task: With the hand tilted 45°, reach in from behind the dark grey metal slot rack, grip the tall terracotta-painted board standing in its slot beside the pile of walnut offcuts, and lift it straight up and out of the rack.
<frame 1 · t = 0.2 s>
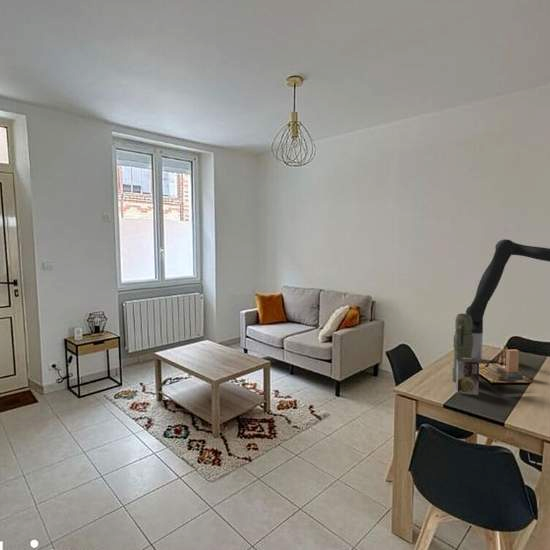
board: (511, 376, 190), point 1 cm above the table, touching rack
thermos: (462, 381, 188), on the table
rack: (511, 379, 190), on the table
coffee box: (466, 392, 175), on the table
offcut pile: (497, 371, 189), point 4 cm above the table
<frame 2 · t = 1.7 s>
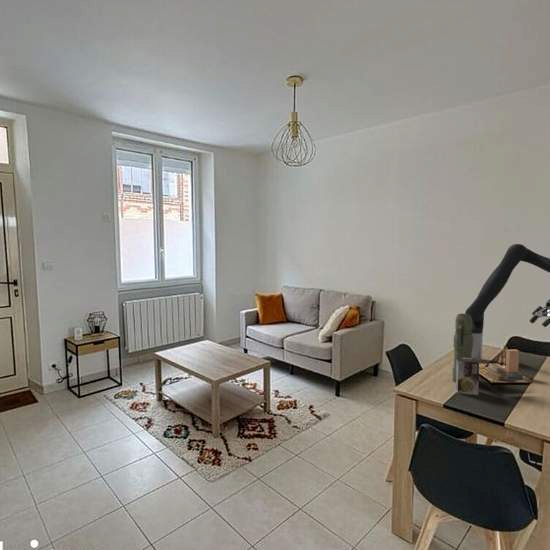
hand: (537, 324, 189), 29 cm above the table, tool tilted 45°, fingers open, 8 cm apart
nothing on the table moved.
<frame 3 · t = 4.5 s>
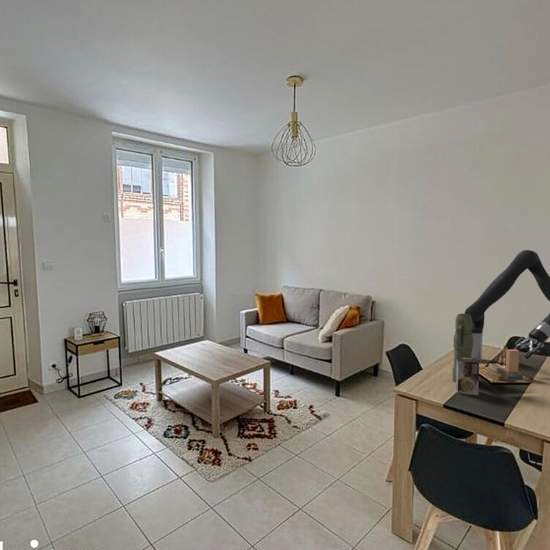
hand: (519, 355, 189), 13 cm above the table, tool tilted 45°, fingers open, 8 cm apart
nothing on the table moved.
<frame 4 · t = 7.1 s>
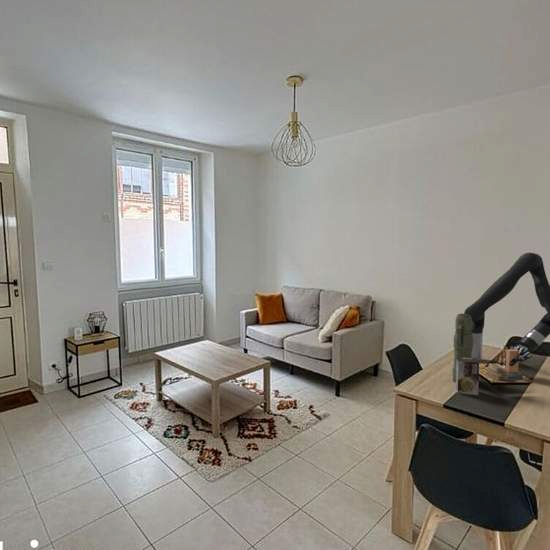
hand: (508, 364, 189), 8 cm above the table, tool tilted 45°, fingers closed on board, 2 cm apart
board: (511, 376, 190), point 2 cm above the table, touching gripper, rack
everything else where it was.
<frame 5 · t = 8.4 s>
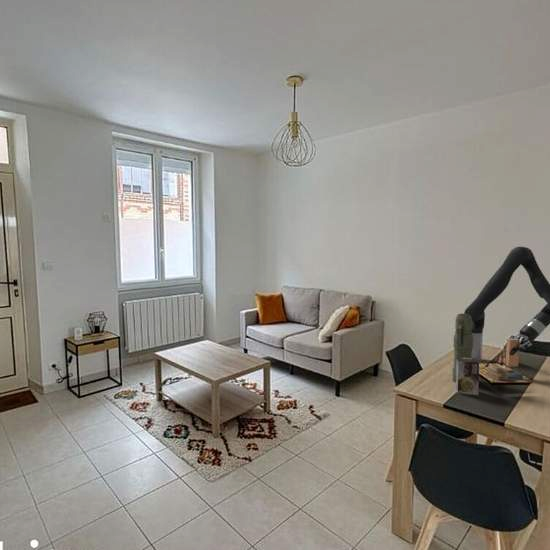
hand: (508, 353, 189), 14 cm above the table, tool tilted 45°, fingers closed on board, 2 cm apart
board: (511, 365, 190), point 7 cm above the table, touching gripper
everything else where it was.
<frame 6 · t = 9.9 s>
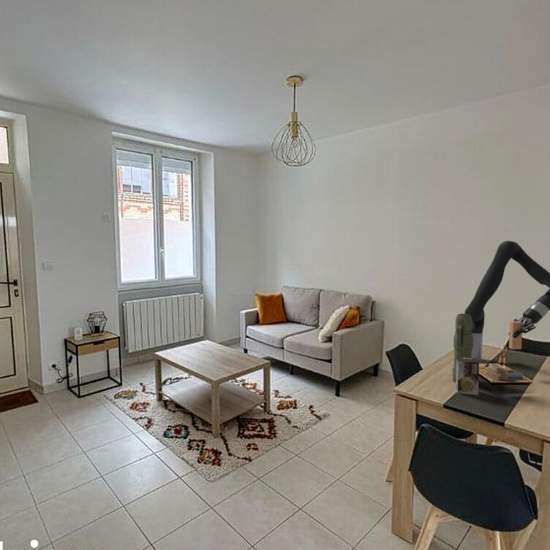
hand: (511, 336, 190), 23 cm above the table, tool tilted 45°, fingers closed on board, 2 cm apart
board: (515, 348, 190), point 16 cm above the table, touching gripper
everything else where it was.
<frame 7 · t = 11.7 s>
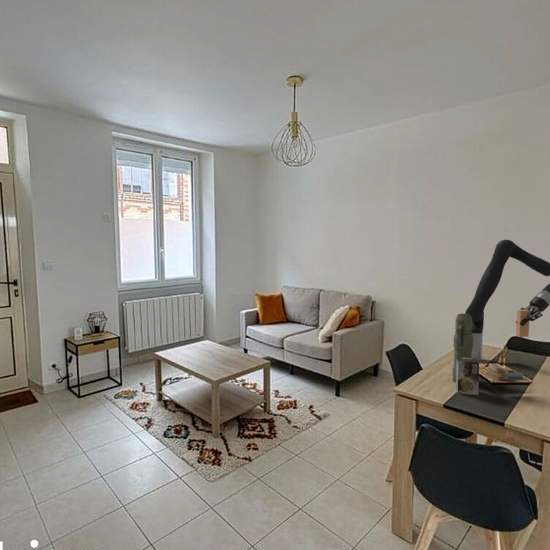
hand: (519, 324, 193), 28 cm above the table, tool tilted 45°, fingers closed on board, 2 cm apart
board: (522, 336, 194), point 21 cm above the table, touching gripper
everything else where it was.
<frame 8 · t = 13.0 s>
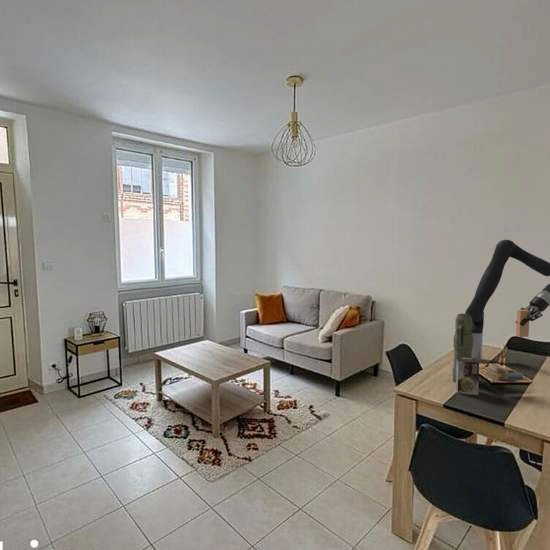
hand: (519, 324, 193), 28 cm above the table, tool tilted 45°, fingers closed on board, 2 cm apart
board: (522, 336, 194), point 21 cm above the table, touching gripper
everything else where it was.
at the end: board point 21.2 cm above the table; the gripper is holding board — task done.
